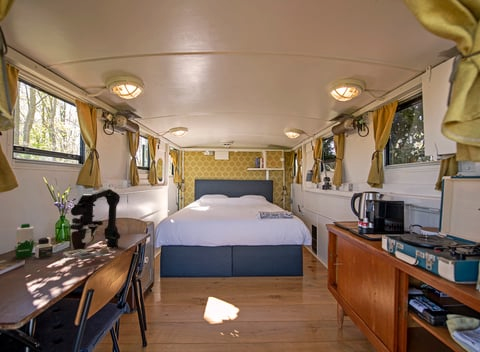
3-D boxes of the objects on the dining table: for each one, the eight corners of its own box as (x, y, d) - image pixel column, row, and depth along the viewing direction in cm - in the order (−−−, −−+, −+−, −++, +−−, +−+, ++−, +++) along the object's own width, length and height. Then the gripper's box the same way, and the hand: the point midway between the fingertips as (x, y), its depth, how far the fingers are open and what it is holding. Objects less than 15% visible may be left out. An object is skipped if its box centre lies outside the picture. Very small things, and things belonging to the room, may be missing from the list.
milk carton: (33, 253, 157) (34, 223, 158) (33, 256, 151) (34, 224, 151) (14, 255, 152) (16, 224, 152) (14, 259, 145) (15, 226, 146)
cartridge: (92, 241, 151) (93, 228, 151) (86, 242, 146) (86, 229, 147) (86, 240, 152) (87, 227, 152) (80, 242, 148) (80, 228, 148)
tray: (80, 252, 160) (80, 249, 160) (87, 255, 155) (87, 251, 155) (63, 256, 152) (63, 252, 152) (69, 259, 146) (69, 255, 146)
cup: (72, 247, 172) (73, 231, 173) (94, 245, 178) (95, 229, 178) (68, 251, 163) (69, 233, 164) (92, 249, 169) (92, 232, 169)
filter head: (105, 251, 163) (105, 247, 163) (112, 254, 158) (112, 249, 158) (75, 258, 148) (75, 253, 149) (82, 261, 143) (82, 256, 143)
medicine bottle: (38, 259, 145) (39, 239, 145) (35, 257, 149) (36, 238, 150) (52, 256, 151) (53, 237, 151) (49, 254, 155) (50, 236, 155)
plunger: (105, 250, 161) (105, 246, 161) (108, 251, 158) (108, 246, 159) (100, 251, 158) (100, 247, 158) (102, 252, 155) (102, 248, 156)
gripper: (90, 211, 161) (89, 234, 160) (63, 214, 143) (62, 240, 142) (103, 212, 158) (102, 235, 158) (77, 215, 140) (76, 242, 140)
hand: (86, 238), depth 149 cm, fingers closed on cartridge, 5 cm apart
